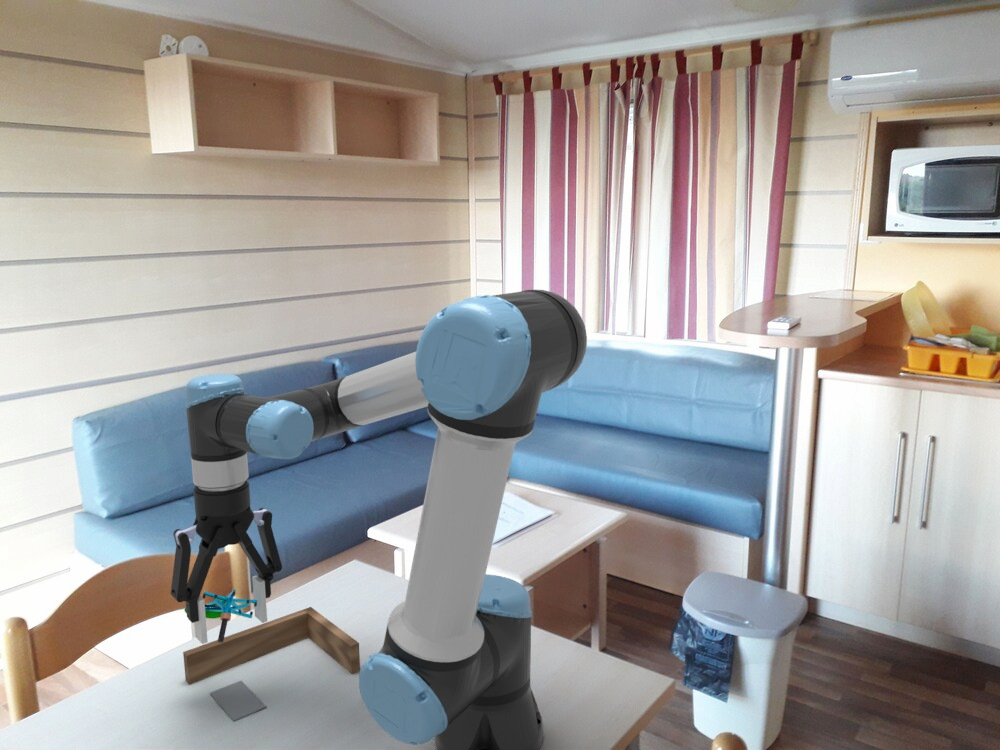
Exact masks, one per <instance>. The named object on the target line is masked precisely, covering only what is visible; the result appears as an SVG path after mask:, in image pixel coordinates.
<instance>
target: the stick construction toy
mask: <svg viewBox="0 0 1000 750" xmlns="http://www.w3.org/2000/svg"><path fill="white" fill-rule="evenodd" d="M236 591H237V589H236V588H235V589H234V588H233V589H232V591H231V592H230V593H229V594H227V596H223V595H219V594H216V593H212V592H208V591H203V594H202V597H201V598H202V599H206V597H209V598H213V602H210V603H208V604H206V603H205V615H206V619H220V621H221V623H220V627H219V631H218V632H219V633H218V636H217V637H218V638H217V640H218V642H219V643H222V642H223V640H224V637H226V636H225V635H226V632H227V631H226V630H227V627H228V622H230V621H231V616H232V615H236V616H240V617H244V618H248V619H252V618H253V613H254V611H250V612H249V613H246V612H243V609H244V608H247V607H249V605H250V604H253V607H256V606H257V600H254V599H250V598H249V599H247V598H246V599H245V598H234V597H235V596H236ZM237 603H238V604H237ZM183 611H184V613H186V614H187V611H186V605H185V607H184V609H183Z"/></svg>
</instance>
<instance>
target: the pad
mask: <svg viewBox="0 0 1000 750" xmlns="http://www.w3.org/2000/svg"><path fill="white" fill-rule="evenodd" d="M209 695H210V696H211V697H212V698H213V700H214V701H215V702H216V703H217V704H218V705H219V706H220V707H221V709H222V710H223V711H224V712H225V713H226V715H228V717H229V718H230V719H231V720H232V721H233V722H235V721H238V720H241V719H243V718H245V717H247V716H250V715H253V714H255V713H257V712H260V711H262V710H264V709H267V706H266V704H265V703H264V702H263V701H262V700H261V699H260V698H259V697H258V696H257V695H256V694H255V693H254V692H253V691H252V690H251V689H250V687H248V685H246V684H245V683H244V682H243V681H242V680H239V681H236V682H234V683H231V684H229V685H226V686H223V687H222V688H219V689H216V690H213V691H211V692H209Z"/></svg>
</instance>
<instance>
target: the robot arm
mask: <svg viewBox="0 0 1000 750" xmlns="http://www.w3.org/2000/svg"><path fill="white" fill-rule="evenodd" d="M418 340H419V341H418V342H417V346H416V351H413V352H411V353H408V354H406V355H403V356H400V357H397V358H394V359H391V360H388V361H386V362H383V363H380V364H377V365H375V366H372V367H369V368H366V369H363V370H360V371H358V372H355V373H352V374H350V375H349V374H348V375H347V376H342V377H339V378H337V379H334V380H332V381H329V382H325V383H322V384H318V385H314V386H310V387H307V388H302V389H299V390H298V389H297V390H293V391H289V392H285V393H280V394H276V395H273V396H267V397H266V396H265V397H264V396H263V397H262V396H252V395H248V394H245V389H244V386H243V381H242V379H241V378H240V377H239V376H237V375H235V374H232V373H231V374H229V373H214V374H206V375H199V376H196V377H193V378H191V379H190V380H188V381H187V384H186V388H185V389H186V390H185V391H186V392H185V393H186V405H185V411H186V419H187V428H188V429H187V430H188V437H189V438H188V439H189V450H190V462H191V473H192V483H193V484H194V486H195V487H194V488H193V501H194V511H195V519H194V522H193V525H192V526H190V527H188V528H185V529H183V530H182V529H181V528H177V529H175V530H174V531H173V538H174V542H175V552H174V553H175V554H174V562H173V571H172V579H171V586H170V587H171V588H170V596H172V598H173V599H174V600H176V601H177V602H178V603H182V602H183V603H184V602H185V606H186V611H187V613H186V617H187V619H188V620H189V621H190V622H191V623H192V624H193V623H194V635H195V638H196V639H197V640H198V642H200V643H201V644H202V645H204V644H207V643H209V642H208V630H207V629H208V628H207V618H206V615H205V604H206V602H205V599H204V598H202V597H201V594H202V593H201V592H202V591H203V588H204V585H205V581H206V579H207V577H208V573H209V570H210V568H211V565H212V562H213V559H214V557H216V556H217V553H218V551H219V550H220V549H223V548H225V547H227V546H231V545H232V546H233V545H238V544H239V546H240V548H241V549H242V551H243V552H244V555H245V556H246V557H247V559H248V560H249V562H250V564H251V565H252V567H253V569H254V570H255V572H256V573H257V575H254V576H252V578H251V580H252V591H253V592H252V594H253V600H257V606H256V607H254V606H253V607H254V608H253V609H254V617H255V618H256V619H257V620H258V621H260V622H261V624H264V623H266V622H268V613H267V599H269V598H271V595H272V587H271V581H272V580H273V579H274V574H275V573H278V572H280V571H281V570H283V565H282V561H281V558H280V554H279V550H278V546H277V543H276V540H275V539H276V538H275V536H274V531H273V527H272V521H273V513H272V512H270V511H269V510H267V509H266V508H264V507H260V508H259V509H258V510H252V509H251V508H252V507H251V494H250V493H251V491H250V482H249V481H248V479H249V477H250V476H249V475H250V474H249V464H248V463H249V462H248V453H252V454H255V455H259V456H261V457H264V458H266V459H268V458H270V459H281V460H292V459H295V458H298V457H299V456H301V455H302V454H303V452H304V451H305V450H306V449H307V448H308V447H309V446H310V444H311V442H314V441H318V440H319V439H323V438H326V437H330V436H332V435H337V434H340V433H343V432H346V431H350V430H354V429H358V428H360V427H363V426H364V425H365V426H366V425H369V424H372V423H376V422H378V421H382V420H386V419H389V418H392V417H393V418H394V417H397V416H399V415H402V414H406V413H409V412H414V411H417V410H420V409H424V408H426V407H427V414H428V416H429V417H430V419H431V420H432V421H433V422H434V423H435V425H436V426H437V431H436V437H435V443H434V447H433V453H432V458H431V463H430V468H429V474H428V477H427V478H428V479H427V485H426V488H425V489H426V490H425V494H424V499H423V504H422V510H421V516H420V521H419V525H418V531H417V537H416V540H415V541H416V542H415V546H414V553H413V557H412V562H411V569H410V573H409V578H408V584H407V588H406V594H405V600H404V601H403V602H401V603H399V604H397V606H395V607H394V608H393V609H392V611H391V612H390V614H389V617H388V619H387V625H386V631H385V634H384V635H385V636H384V641H383V645H382V646H381V649H380V650H379V651H378V652H375V653H373V654H371V655H369V656H368V659H367V660H366V661H364V663H363V664H362V666H361V667H360V671H359V676H358V688H359V691H360V692H359V693H360V696H361V699H362V702H363V703H364V706H365V708H366V709H367V710H368V713H369V714H370V716H371V719H373V720H374V722H375V723H376V724H377V725H378V726H379V727H380V729H382V730H383V731H384V732H385V733H386V734H387V735H389V736H390V737H392V739H394V740H396V741H397V742H400V743H403V744H406V745H412V746H417V745H424V744H426V743H428V742H430V741H431V740H433V738H434V742H435V743H434V744H435V746H436V749H437V750H540V748H541V746H542V743H543V739H544V737H543V733H544V732H543V731H544V727H543V726H544V725H543V718H542V715H541V712H540V710H539V707H538V704H537V701H536V698H535V695H534V692H533V689H532V686H531V656H532V655H531V653H532V652H531V650H532V649H531V647H532V643H531V642H532V641H531V639H532V637H531V636H532V635H531V634H532V633H531V632H532V617H533V611H532V610H531V595H530V593H529V591H528V590H527V589H526V586H524V585H523V584H522V583H520V582H518V581H516V580H514V579H511V578H510V577H509V578H508V577H505V576H501V575H497V574H496V575H495V574H488V573H487V569H488V565H489V560H490V556H491V551H492V547H493V543H494V539H495V533H496V531H497V530H496V529H497V525H498V520H499V516H500V512H501V509H502V508H501V507H502V503H503V499H504V495H505V490H506V485H507V482H508V476H509V473H510V467H511V463H512V461H513V460H512V459H513V455H514V451H515V447H516V443H519V442H520V441H522V440H524V439H526V438H527V437H529V436H530V435H531V434H532V433H533V430H534V426H535V422H536V417H537V414H538V410H539V409H538V408H539V405H540V401H541V397H542V393H545V392H548V391H550V390H552V389H554V388H557V387H560V386H561V385H563V384H564V383H565V382H568V380H570V379H571V378H572V376H574V374H575V373H576V372H577V371H578V370H579V368H580V367H581V364H582V363H583V360H584V358H585V355H586V351H587V345H588V336H587V330H586V325H585V323H584V320H583V318H582V316H581V314H580V313H579V311H578V310H577V308H576V307H575V306H574V305H573V304H572V303H571V302H570V301H569V300H568V299H566V298H564V297H563V296H561V295H560V294H557V293H556V292H552V291H549V290H544V289H526V290H522V291H516V292H509V293H502V294H495V295H489V294H483V295H481V294H480V295H475V296H470V297H468V298H464V299H463V300H461V301H458V302H454V303H452V304H449V305H448V306H445V307H444V308H442V309H441V310H439V311H438V312H437V313H435V315H434V316H433V317H431V319H430V320H429V321H428V322H427V324H426V325H425V327H424V329H423V331H422V332H421V334H420V337H419V339H418ZM253 522H254V524H255V525H256V526H257V527H256V528H257V531H258V534H259V538H260V541H261V546H262V549H263V552H264V557H265V559H266V563H265V561H264V560H263V557H262V556H261V555H260V552H259V551H258V550H257V548H256V547H255V545H254V543H253V541H252V539H251V537H250V536H249V533H248V532H247V531H248V530H249V528H250V527H251V524H252V523H253ZM196 535H198V536H199V537H200V538H201V540H200V543H199V545H198V553H197V556H196V557H195V558H196V559H195V561H194V564H193V567H192V569H191V572H190V562H191V554H192V546H191V545H192V544H194V539H195V537H196ZM189 573H190V574H189Z"/></svg>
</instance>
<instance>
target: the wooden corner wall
mask: <svg viewBox="0 0 1000 750" xmlns="http://www.w3.org/2000/svg"><path fill="white" fill-rule="evenodd" d="M307 639H309V640H310V641H311V642H313V643H314V644H315V645H316V646H317V647H318V648H320V649H321V650H322V651H324V652H325V653H326V654H327V655H328V656H329V657H331V658H332V660H334V661H335V662H336V663H338V664H339V665H340V666H341V667H342V668H344V669H345V670H346V671H348V672H349V673H350V674H351V675H355V674H356V673H358V672H360V670H361V662H360V661H361V657H360V642H358V640H356V639H354V638H353V637H351V636H350V635H349V634H347V632H345V630H344V631H343V630H342V629H341V628H340V627H338V626H337V624H334V623H333V622H331V620H329V619H328V618H326V617H325V616H324V615H322V614H321V613H320V612H318V611H317V610H316V609H314V608H313V607H312V606H310V607H309V606H308V607H305V608H303V609H301V610H298V611H295V612H293V613H292V612H291V613H289V614H286V615H284V616H281V617H279V618H275V619H273V620H270V621H267V622H264V623H261V624H258V625H256V626H253V627H250V628H247V629H245V630H242V631H239V632H236V633H234V634H233V633H232V634H230V635H227V636H224V640H223V642H222V643H219V642H218V639H217V640H213V641H210V642H207V643H204V644H202V645H199V646H196V647H193V648H190V649H188V650H185V651H183V653H182V655H183V665H184V677H185V682H186V683H187V684H188V685H189V686H190V685H192V684H196V683H198V682H201V681H203V680H205V679H208V678H211V677H213V676H215V675H218V674H221V673H224V672H226V671H227V670H228V671H229V670H231V669H233V668H236V667H238V666H240V665H243V664H246V663H249V662H251V661H253V660H256V659H258V658H261V657H263V656H266V655H268V654H271V653H274V652H277V651H278V650H279V651H280V650H281V649H284V648H286V647H289V646H291V645H294V644H297V643H299V642H301V641H304V640H307Z"/></svg>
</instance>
